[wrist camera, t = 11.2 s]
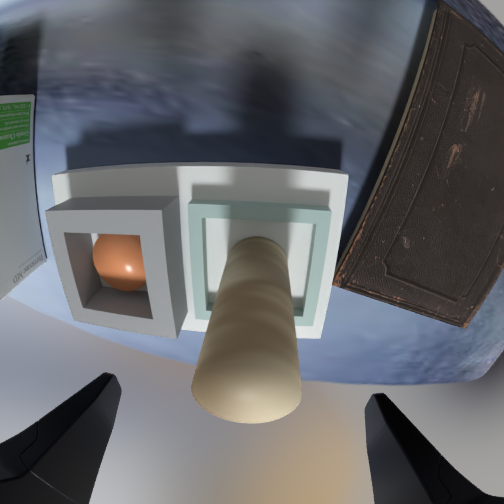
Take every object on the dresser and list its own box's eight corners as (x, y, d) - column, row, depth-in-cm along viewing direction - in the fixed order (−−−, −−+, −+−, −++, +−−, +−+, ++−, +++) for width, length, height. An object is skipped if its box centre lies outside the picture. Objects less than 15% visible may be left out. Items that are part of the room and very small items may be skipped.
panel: (340, 169, 17) (364, 185, 12) (316, 322, 22) (325, 367, 17) (67, 169, 18) (24, 185, 13) (92, 301, 23) (64, 334, 18)
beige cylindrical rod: (289, 238, 17) (310, 363, 8) (284, 291, 19) (293, 424, 9) (226, 234, 17) (184, 355, 8) (227, 288, 19) (197, 418, 10)
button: (150, 227, 17) (144, 232, 16) (157, 286, 19) (153, 294, 18) (95, 225, 17) (87, 230, 16) (105, 281, 19) (99, 287, 18)
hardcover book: (326, 269, 21) (331, 285, 18) (426, 7, 11) (441, -2, 9) (457, 316, 22) (468, 330, 20) (541, 117, 13) (556, 120, 10)
